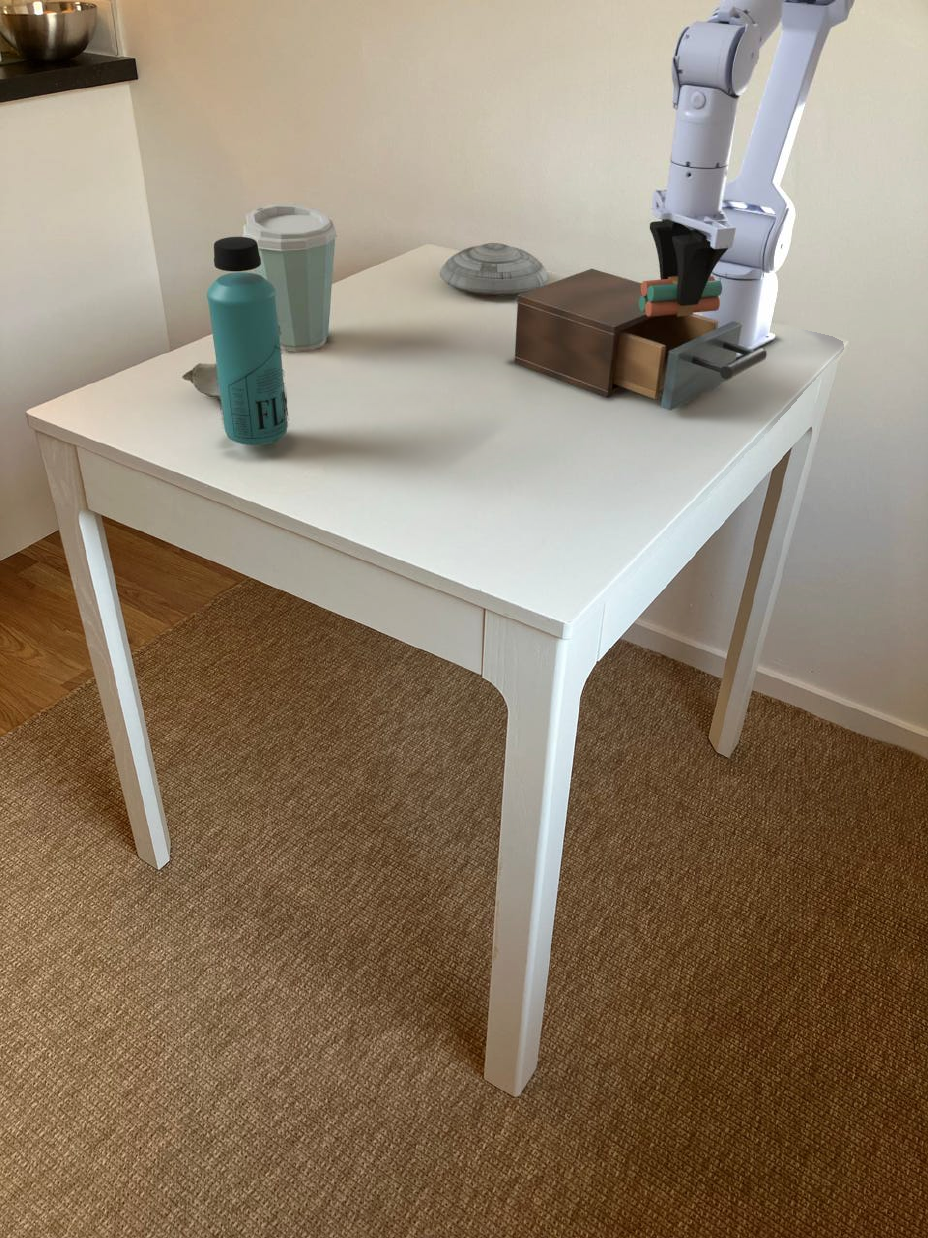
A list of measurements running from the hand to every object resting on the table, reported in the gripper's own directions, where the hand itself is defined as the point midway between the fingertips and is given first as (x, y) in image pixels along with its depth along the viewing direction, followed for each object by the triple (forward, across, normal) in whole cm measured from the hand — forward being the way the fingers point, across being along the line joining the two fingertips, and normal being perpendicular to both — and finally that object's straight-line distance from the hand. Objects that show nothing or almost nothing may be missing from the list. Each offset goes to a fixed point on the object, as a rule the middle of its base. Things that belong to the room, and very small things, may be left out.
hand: (679, 297), depth 111 cm
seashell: (+11, -10, -48) cm, 50 cm away
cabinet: (+10, -9, -5) cm, 14 cm away
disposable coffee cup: (+11, -23, -38) cm, 46 cm away
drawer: (+9, +1, 0) cm, 10 cm away
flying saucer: (+11, -38, -8) cm, 40 cm away
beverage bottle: (+11, +2, -46) cm, 47 cm away
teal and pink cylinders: (+1, 0, 0) cm, 1 cm away
